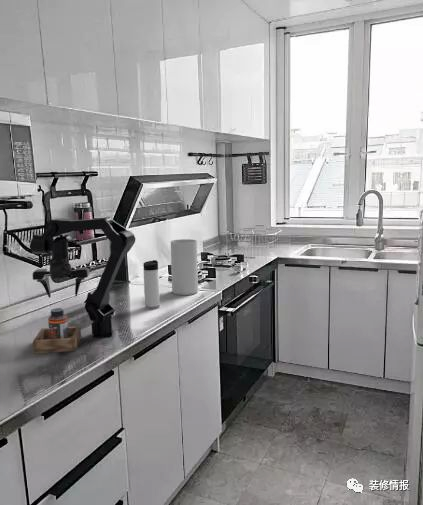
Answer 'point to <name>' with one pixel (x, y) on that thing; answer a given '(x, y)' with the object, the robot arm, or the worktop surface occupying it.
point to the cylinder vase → (184, 266)
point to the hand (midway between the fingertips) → (63, 296)
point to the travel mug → (151, 284)
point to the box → (57, 341)
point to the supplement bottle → (58, 324)
